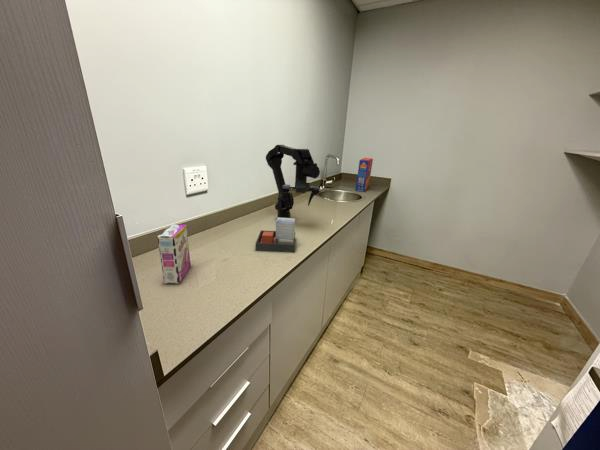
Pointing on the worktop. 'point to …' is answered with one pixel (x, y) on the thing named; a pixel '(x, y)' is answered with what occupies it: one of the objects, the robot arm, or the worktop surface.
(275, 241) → the tray
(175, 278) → the candy bar box
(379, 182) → the worktop surface
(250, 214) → the worktop surface
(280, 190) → the robot arm
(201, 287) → the worktop surface
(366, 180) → the pasta box
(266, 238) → the terracotta block
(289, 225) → the medicine box
